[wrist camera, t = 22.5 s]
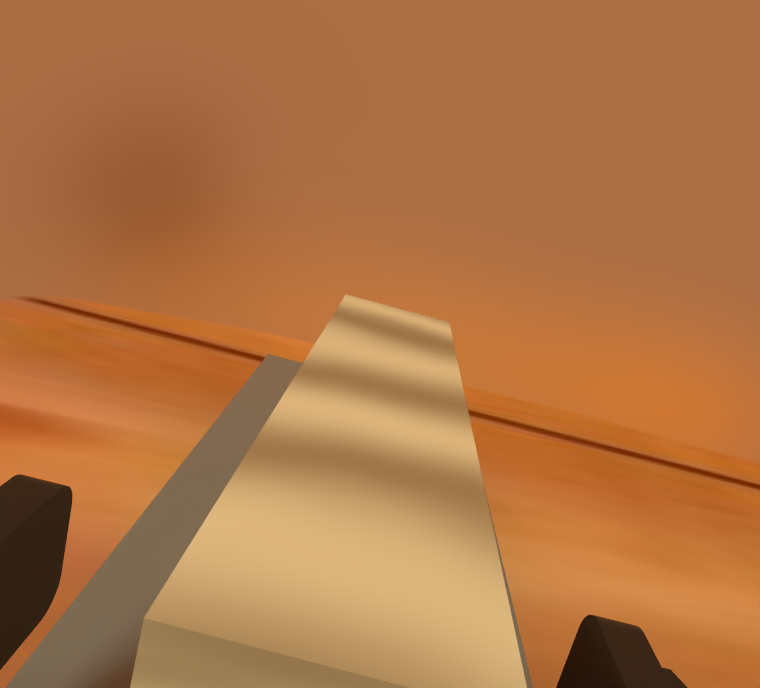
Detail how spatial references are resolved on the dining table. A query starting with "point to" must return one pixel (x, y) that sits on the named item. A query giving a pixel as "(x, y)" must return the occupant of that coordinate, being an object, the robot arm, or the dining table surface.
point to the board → (160, 552)
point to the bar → (346, 534)
